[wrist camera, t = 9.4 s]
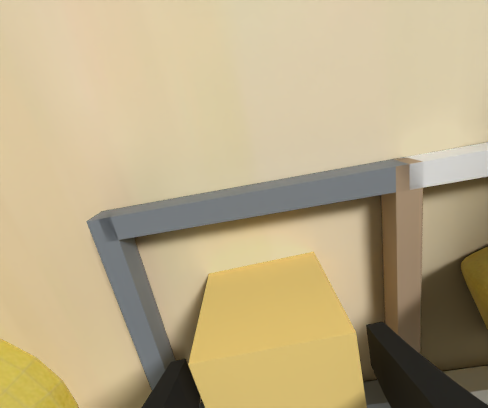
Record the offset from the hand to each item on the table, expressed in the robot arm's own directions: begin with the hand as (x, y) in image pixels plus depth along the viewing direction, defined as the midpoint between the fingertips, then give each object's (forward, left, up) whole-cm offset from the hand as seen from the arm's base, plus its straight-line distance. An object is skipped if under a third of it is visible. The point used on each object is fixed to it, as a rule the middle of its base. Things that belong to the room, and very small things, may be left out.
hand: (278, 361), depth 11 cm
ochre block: (0, 0, -3) cm, 3 cm away
